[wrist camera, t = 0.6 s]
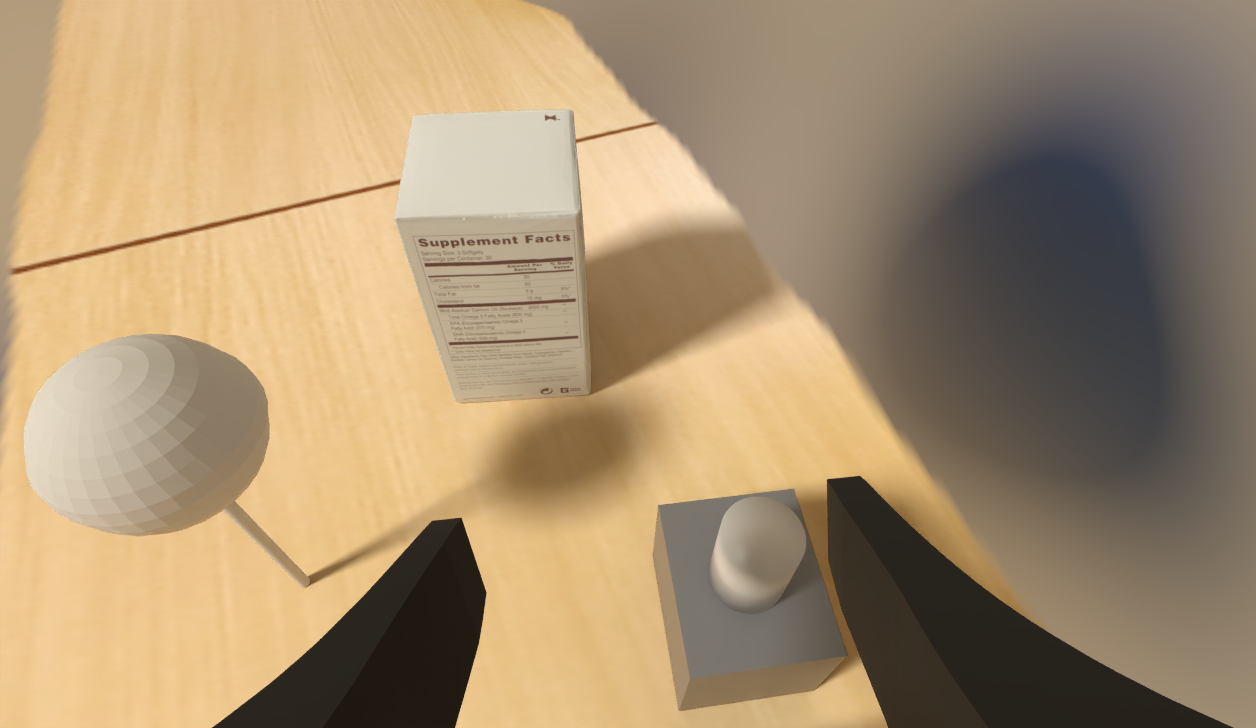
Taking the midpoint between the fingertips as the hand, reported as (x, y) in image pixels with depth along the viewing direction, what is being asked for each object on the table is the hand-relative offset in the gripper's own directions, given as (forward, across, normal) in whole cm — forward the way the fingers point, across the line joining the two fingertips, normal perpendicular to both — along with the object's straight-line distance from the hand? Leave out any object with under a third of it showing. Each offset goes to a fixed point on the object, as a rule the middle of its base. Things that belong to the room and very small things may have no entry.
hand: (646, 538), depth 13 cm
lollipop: (+11, +16, +11) cm, 23 cm away
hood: (+10, -2, +14) cm, 18 cm away
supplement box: (+24, +8, +7) cm, 26 cm away
